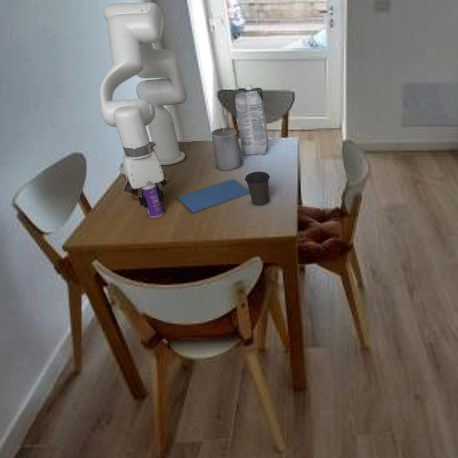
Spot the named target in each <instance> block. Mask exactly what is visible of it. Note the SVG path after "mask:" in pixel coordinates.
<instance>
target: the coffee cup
mask: <svg viewBox="0 0 458 458" xmlns="http://www.w3.org/2000/svg"><path fill="white" fill-rule="evenodd" d="M270 178H271V176H270V175H269V173H267V172H266V171H253V172H250V173H248V174H246V175H245V177H244V181H245V182H246V184H247V187H248V191H249V192H250V193H249V195H250V199H251V202H252V204H253V205H254V206H264V205H266V204H268V203H269V180H270Z"/></svg>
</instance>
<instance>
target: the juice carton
mask: <svg viewBox="0 0 458 458" xmlns="http://www.w3.org/2000/svg"><path fill="white" fill-rule="evenodd" d="M234 101H235V110H236V117H237V123H238V130H239V137H240V144H241V147H242V151H243V153H244V155H245V156H251V155H266V152H267V149H268V145H269V135H268V126H267V116H266V107H265V99H264V93H263V89H262V88H261V87H254V88H253V85H252V84H246V85H244V87H239V88H237V91H236V92H235V93H234Z"/></svg>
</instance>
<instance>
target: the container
mask: <svg viewBox="0 0 458 458" xmlns="http://www.w3.org/2000/svg"><path fill="white" fill-rule="evenodd" d="M142 194H143V196H144V197H145V200H146V204H147V208H146V212H147V215H148V217H149V218H152V219H154V218H160V217H162V216H163V215H164V213H165V211H164V208H163V203H162V202H161V200H160V197H159V193H158V189H157V186H156V183H155V184H153V183H152V182H151V181H148V182H147V184H146V186H145V187H142Z"/></svg>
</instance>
